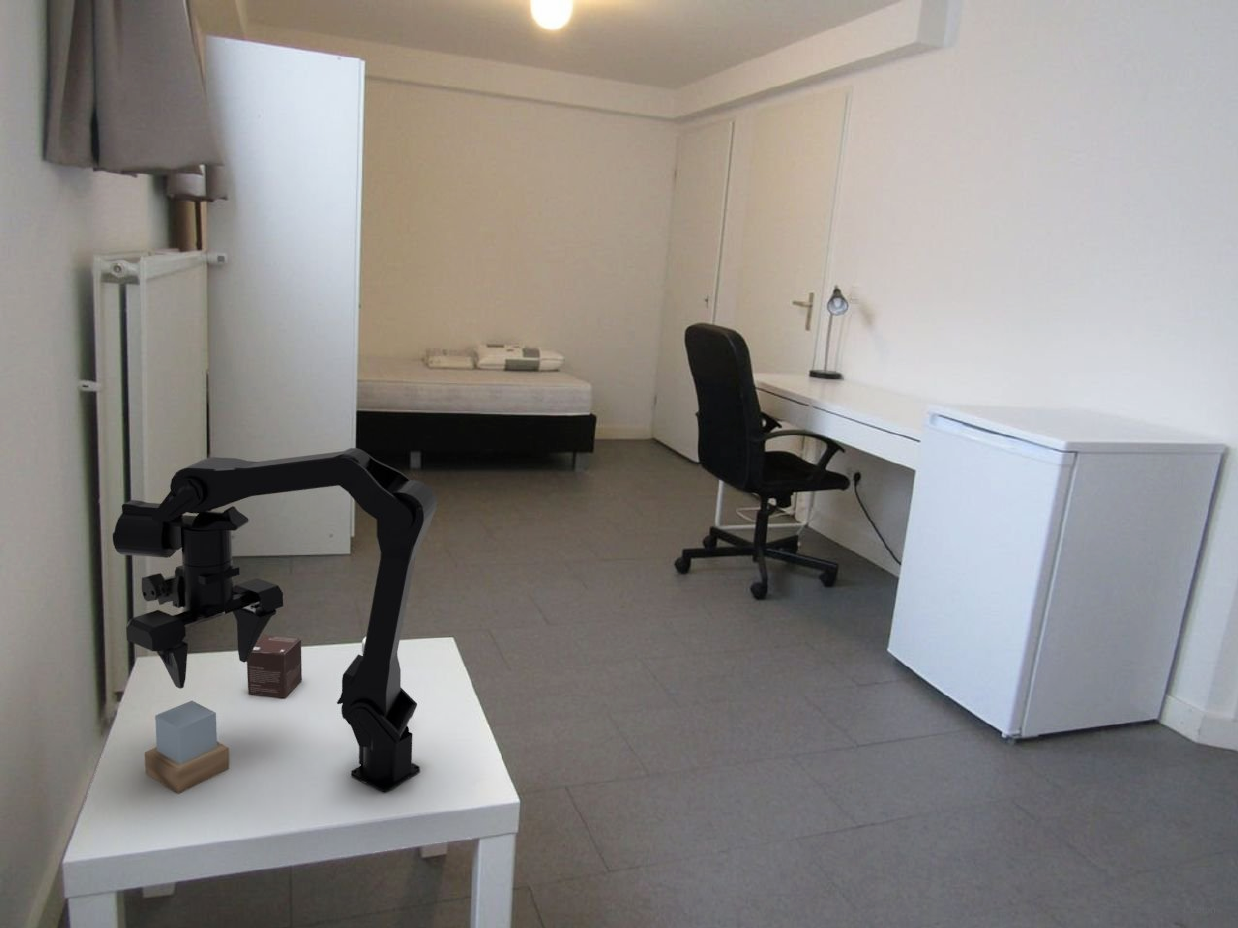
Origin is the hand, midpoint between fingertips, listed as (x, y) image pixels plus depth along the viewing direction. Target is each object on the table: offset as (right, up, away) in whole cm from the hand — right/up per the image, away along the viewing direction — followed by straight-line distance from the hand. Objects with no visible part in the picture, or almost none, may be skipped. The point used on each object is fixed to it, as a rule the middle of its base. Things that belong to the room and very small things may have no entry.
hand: (212, 673), depth 114 cm
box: (-1, -8, +22) cm, 24 cm away
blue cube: (-3, -9, -1) cm, 10 cm away
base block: (-3, -12, 0) cm, 13 cm away
